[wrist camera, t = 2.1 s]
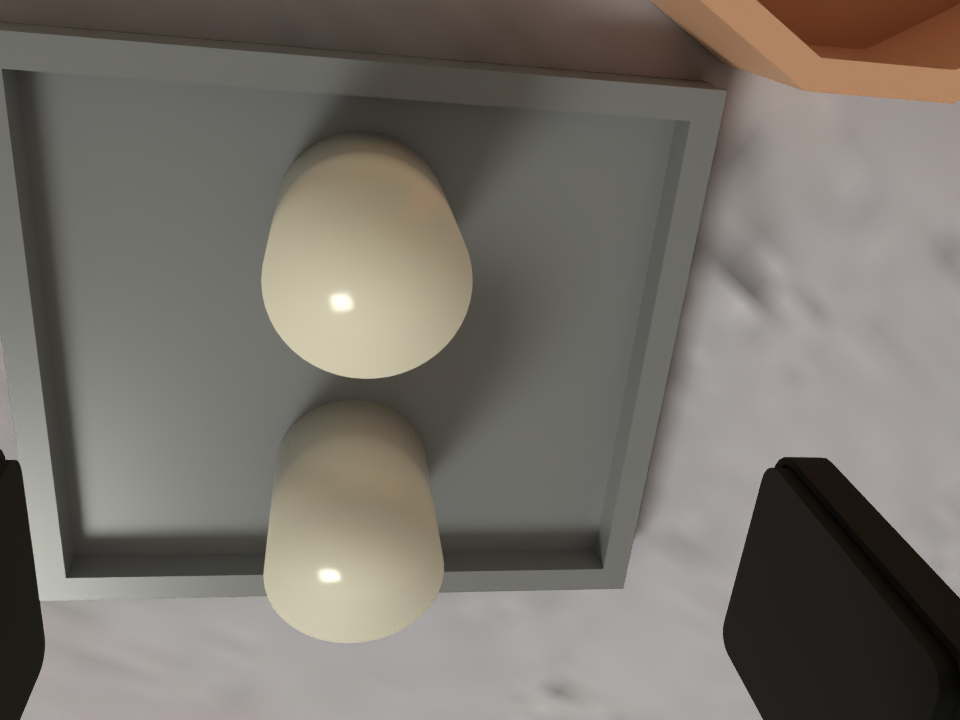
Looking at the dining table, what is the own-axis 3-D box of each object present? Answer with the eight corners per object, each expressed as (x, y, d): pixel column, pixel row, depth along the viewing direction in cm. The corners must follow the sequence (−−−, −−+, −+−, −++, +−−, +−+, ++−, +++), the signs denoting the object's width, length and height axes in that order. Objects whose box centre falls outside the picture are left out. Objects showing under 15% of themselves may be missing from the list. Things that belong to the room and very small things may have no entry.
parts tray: (-19, 20, 20) (-44, 26, 19) (704, 81, 23) (727, 90, 22) (53, 567, 27) (38, 600, 26) (610, 558, 30) (623, 588, 29)
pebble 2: (275, 398, 25) (262, 500, 20) (431, 401, 26) (451, 500, 21) (275, 526, 27) (264, 645, 22) (420, 525, 28) (437, 640, 23)
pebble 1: (275, 124, 22) (260, 174, 17) (453, 137, 22) (482, 188, 18) (275, 292, 24) (262, 376, 19) (439, 298, 24) (463, 380, 20)
